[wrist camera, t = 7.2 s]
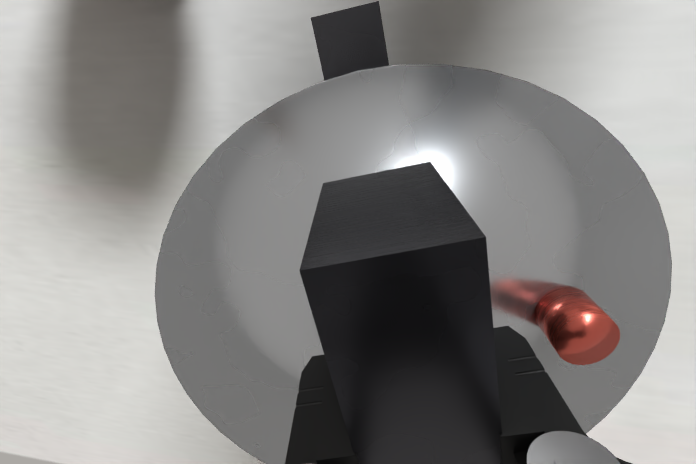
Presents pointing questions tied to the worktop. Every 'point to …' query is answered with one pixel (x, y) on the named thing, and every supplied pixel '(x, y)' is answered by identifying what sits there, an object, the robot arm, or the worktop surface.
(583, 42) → the worktop surface
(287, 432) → the steel lid
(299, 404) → the robot arm
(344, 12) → the graphite pot
